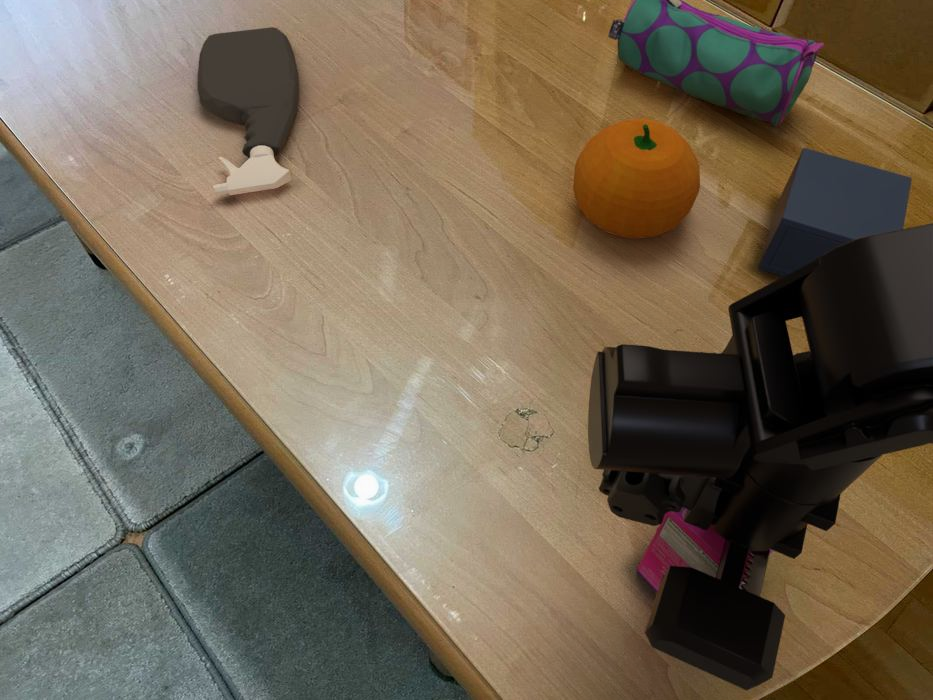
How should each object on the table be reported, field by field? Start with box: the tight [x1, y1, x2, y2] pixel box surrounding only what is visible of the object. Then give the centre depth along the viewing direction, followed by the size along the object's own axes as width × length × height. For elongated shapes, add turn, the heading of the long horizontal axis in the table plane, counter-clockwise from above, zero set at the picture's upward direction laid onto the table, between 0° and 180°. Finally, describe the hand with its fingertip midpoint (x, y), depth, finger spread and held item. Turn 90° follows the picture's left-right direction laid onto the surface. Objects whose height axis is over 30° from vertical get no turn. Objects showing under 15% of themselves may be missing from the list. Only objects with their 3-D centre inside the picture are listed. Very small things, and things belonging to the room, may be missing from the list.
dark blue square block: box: [757, 158, 844, 277], centre depth 68 cm, size 10×10×6 cm
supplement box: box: [636, 507, 776, 593], centre depth 48 cm, size 6×6×12 cm
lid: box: [780, 147, 913, 244], centre depth 66 cm, size 10×10×1 cm
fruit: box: [572, 118, 701, 239], centre depth 70 cm, size 12×12×10 cm
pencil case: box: [607, 0, 825, 127], centre depth 80 cm, size 21×9×10 cm, turn 54°
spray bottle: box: [196, 26, 300, 196], centre depth 80 cm, size 3×11×24 cm
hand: (703, 556), depth 50 cm, fingers open, 9 cm apart
